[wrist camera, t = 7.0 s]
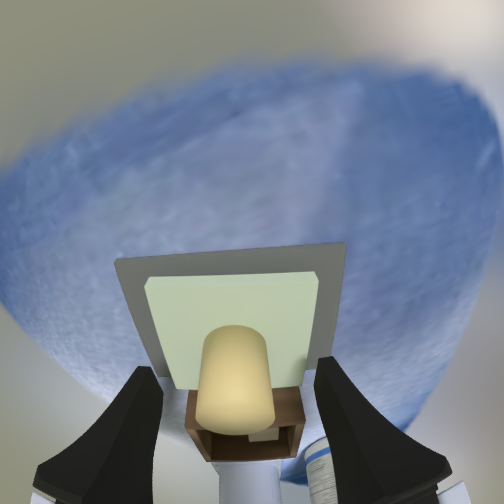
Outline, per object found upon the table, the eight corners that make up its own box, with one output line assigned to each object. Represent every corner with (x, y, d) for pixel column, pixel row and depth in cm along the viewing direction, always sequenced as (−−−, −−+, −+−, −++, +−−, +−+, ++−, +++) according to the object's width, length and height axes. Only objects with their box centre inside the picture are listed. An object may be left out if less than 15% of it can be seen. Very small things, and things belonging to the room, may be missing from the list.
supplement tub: (399, 418, 22) (435, 522, 9) (353, 453, 26) (375, 541, 13) (328, 424, 21) (358, 558, 8) (287, 458, 25) (301, 562, 11)
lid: (297, 365, 16) (314, 444, 11) (179, 368, 15) (167, 448, 10) (309, 262, 12) (350, 351, 7) (153, 267, 12) (112, 356, 7)
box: (289, 417, 20) (296, 457, 16) (207, 422, 20) (206, 461, 16) (295, 370, 17) (305, 419, 13) (190, 375, 17) (184, 425, 13)
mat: (326, 362, 16) (327, 366, 16) (158, 372, 16) (157, 376, 16) (343, 242, 12) (346, 245, 12) (116, 259, 12) (113, 262, 12)
